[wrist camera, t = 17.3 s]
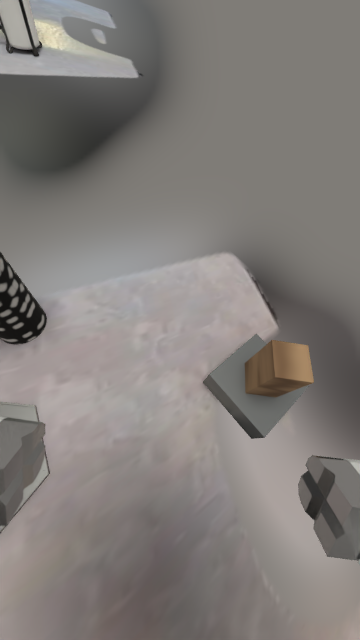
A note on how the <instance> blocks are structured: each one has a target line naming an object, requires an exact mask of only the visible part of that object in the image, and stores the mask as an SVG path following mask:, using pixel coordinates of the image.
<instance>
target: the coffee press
mask: <svg viewBox="0 0 360 640" xmlns="http://www.w3.org/2000/svg"><path fill="white" fill-rule="evenodd" d="M0 29H2V32H3V33H4V36H5V39H6V41H7V44H6V50H7V51H8V52H9V53H12V52H13V49H14V48H18V49H25V50H29V49H30V50H31V51H32V53H33V54H34V56H39V54H38V51H37V49H36V48H37V47H38V46H39V47H40V48H41V47H42V43H41V42H40V41H39V38H38V34H37V30H36V26H35V22H34V19H33V15H32V11H31V7H30V3H29V0H0ZM39 43H40V45H39ZM9 45H11V46H12V47H11V49H10V51H9Z"/></svg>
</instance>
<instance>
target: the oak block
mask: <svg viewBox="0 0 360 640" xmlns="http://www.w3.org/2000/svg"><path fill="white" fill-rule="evenodd" d="M312 383H314V380H313V374H312V368H311V361H310V355H309V349H308V345H302V344H295V343H289V342H282V341H276V340H271V341H270V342H269V343H268V344H267V345H265V346H264V347H263V348H262V349H261V350H260V351H258V352H257V353H256V354H255V355H254V356H253V357H251V358H250V359H249V360H248V361H247V362H245V393H247V394H254V395H261V396H268V397H278V396H281V395H283V394H286V393H289V392H291V391H294V390H296V389H299V388H301V387H304V386H307V385H309V384H312Z"/></svg>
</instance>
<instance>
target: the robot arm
mask: <svg viewBox="0 0 360 640" xmlns="http://www.w3.org/2000/svg"><path fill="white" fill-rule="evenodd" d="M44 435H45V424H44V423H42V422H36V421H30V420H23V419H16V418H9V417H8V418H6V417H0V526H7V525H8V523H9V522H10V520H11V518H12V517H13V515H14V514H15V512H16V510H17V509H18V507H19V505H20V504H21V502H22V500H23V489H25V488H26V487H28V486H29V485H31V484H32V483H33V482H34V480H35V479H36V477H37V475H38V474H39V471H40V469H41V466H42V464H43V461H44V456H45V445H44V444H43V442H42V441H41V439H42V438H43V436H44ZM306 467H307V469H308V471H307V472H306V473H304V474H303V475H302V476H301V478H300V481H299V484H298V488H299V497H300V501H301V504H302V505H303V508H304V510H305V512H306V513H307V514H308V515H309V516H310V517H311V518H312V519H314V530H315V532H316V535H317V537H318V538H319V540H320V542H321V544H322V547H323V549H324V551H325V553H326V554H327V556H328V557H335V558H342V559H350V560H357V561H358V563H359V564H360V461H359V460H351V459H340V458H331V457H322V456H314V455H312V456H311V457H310V458H308V460H307V463H306Z"/></svg>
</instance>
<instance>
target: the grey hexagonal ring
mask: <svg viewBox="0 0 360 640" xmlns="http://www.w3.org/2000/svg"><path fill="white" fill-rule="evenodd" d="M0 417H6V418H8V417H9V418H16V419H23V420H30V421H36V422H39V418H38V413H37V408H36V406H35V405H25V404H16V403H7V402H0ZM41 441H42V442H43V438H42V439H41ZM43 444H44V442H43ZM49 474H50V471H49V467H48V462H47V457H46V452H45V456H44V461H43V464H42V466H41V469H40V471H39V474H38V475H37V477H36V479H35V480H34V482H33V483H32V484H31V485H29V486H28V487H26V488H25V489H23V500H22V502H21V504H20V505H19V507H18V509H17V510H16V512H15V514H14V515H13V517H14V516H15V515H16V513H17V512H18V511H19V510H20V509H21V507H22V506H23V505H24V504H25V503H26V501H27V500H28V499H29V498H30V497H31V495H32V494H33V493H34V492H35V491H36V489H37V488H38V487H39V486H40V485H41V483H42V482H43V481H44V480H45V478H46V477H47V476H48V475H49ZM13 517H12V518H13ZM12 518H11V519H12ZM10 521H11V520H10ZM5 527H6V526H0V533H1V531H2V530H3V529H4V528H5Z"/></svg>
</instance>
